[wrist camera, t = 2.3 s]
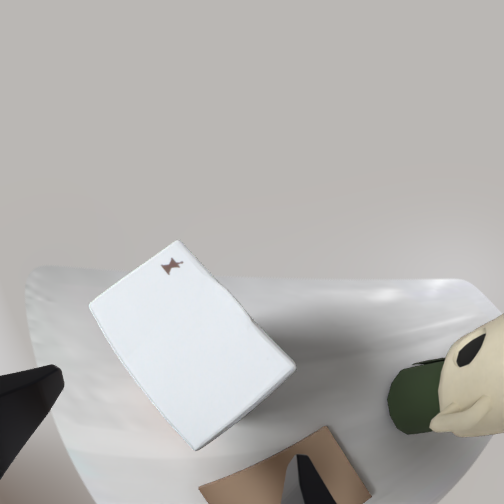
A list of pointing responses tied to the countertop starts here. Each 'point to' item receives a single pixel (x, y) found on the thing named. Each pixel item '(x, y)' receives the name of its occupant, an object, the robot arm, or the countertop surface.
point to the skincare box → (190, 345)
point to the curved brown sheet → (274, 471)
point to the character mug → (455, 388)
